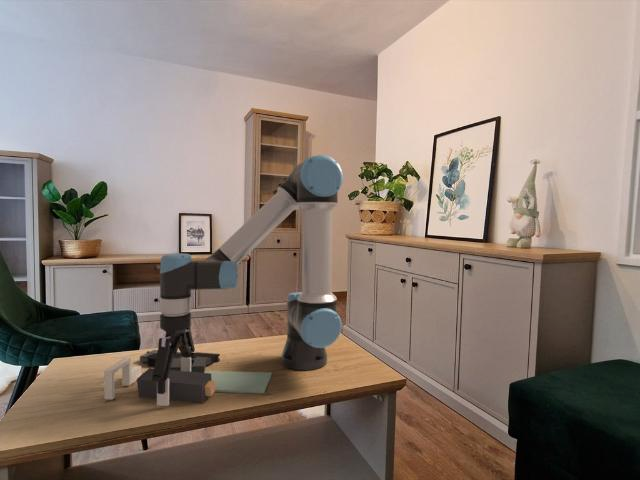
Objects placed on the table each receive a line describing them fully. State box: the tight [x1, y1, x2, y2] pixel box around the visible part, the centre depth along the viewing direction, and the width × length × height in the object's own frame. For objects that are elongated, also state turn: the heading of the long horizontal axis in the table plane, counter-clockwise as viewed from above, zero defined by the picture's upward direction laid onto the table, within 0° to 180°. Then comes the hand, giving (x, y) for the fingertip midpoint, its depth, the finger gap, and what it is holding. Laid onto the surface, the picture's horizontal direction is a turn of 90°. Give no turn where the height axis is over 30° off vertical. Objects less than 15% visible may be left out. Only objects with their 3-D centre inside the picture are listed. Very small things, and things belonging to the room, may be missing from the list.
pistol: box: [139, 349, 221, 373], centre depth 114 cm, size 2×26×15 cm
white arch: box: [103, 357, 142, 400], centre depth 99 cm, size 2×14×7 cm, turn 178°
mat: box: [204, 370, 273, 394], centre depth 103 cm, size 26×12×1 cm, turn 88°
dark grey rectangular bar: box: [136, 367, 216, 404], centre depth 95 cm, size 20×5×5 cm, turn 81°
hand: (175, 392), depth 96 cm, fingers open, 13 cm apart
